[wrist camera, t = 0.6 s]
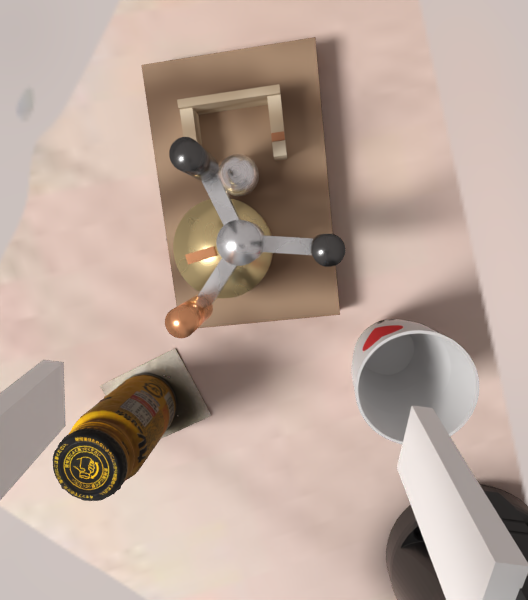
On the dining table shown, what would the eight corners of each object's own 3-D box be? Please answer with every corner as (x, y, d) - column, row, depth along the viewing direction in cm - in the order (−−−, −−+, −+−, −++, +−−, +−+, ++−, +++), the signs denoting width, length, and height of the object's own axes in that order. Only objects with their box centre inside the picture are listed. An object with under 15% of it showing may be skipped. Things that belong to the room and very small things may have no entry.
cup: (432, 303, 37) (480, 327, 28) (432, 391, 39) (478, 445, 29) (339, 307, 38) (353, 332, 28) (342, 393, 39) (356, 446, 30)
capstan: (302, 133, 34) (304, 95, 25) (341, 275, 35) (356, 290, 26) (156, 181, 35) (104, 163, 26) (198, 315, 37) (165, 343, 28)
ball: (262, 195, 35) (259, 191, 32) (224, 200, 35) (217, 196, 32) (258, 155, 35) (254, 147, 31) (219, 160, 35) (211, 153, 32)
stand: (337, 310, 38) (342, 320, 34) (186, 325, 40) (172, 336, 35) (314, 48, 35) (316, 22, 31) (150, 74, 36) (129, 52, 32)
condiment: (100, 385, 41) (21, 446, 29) (175, 347, 40) (123, 395, 28) (137, 449, 42) (74, 533, 30) (212, 414, 41) (176, 488, 29)
